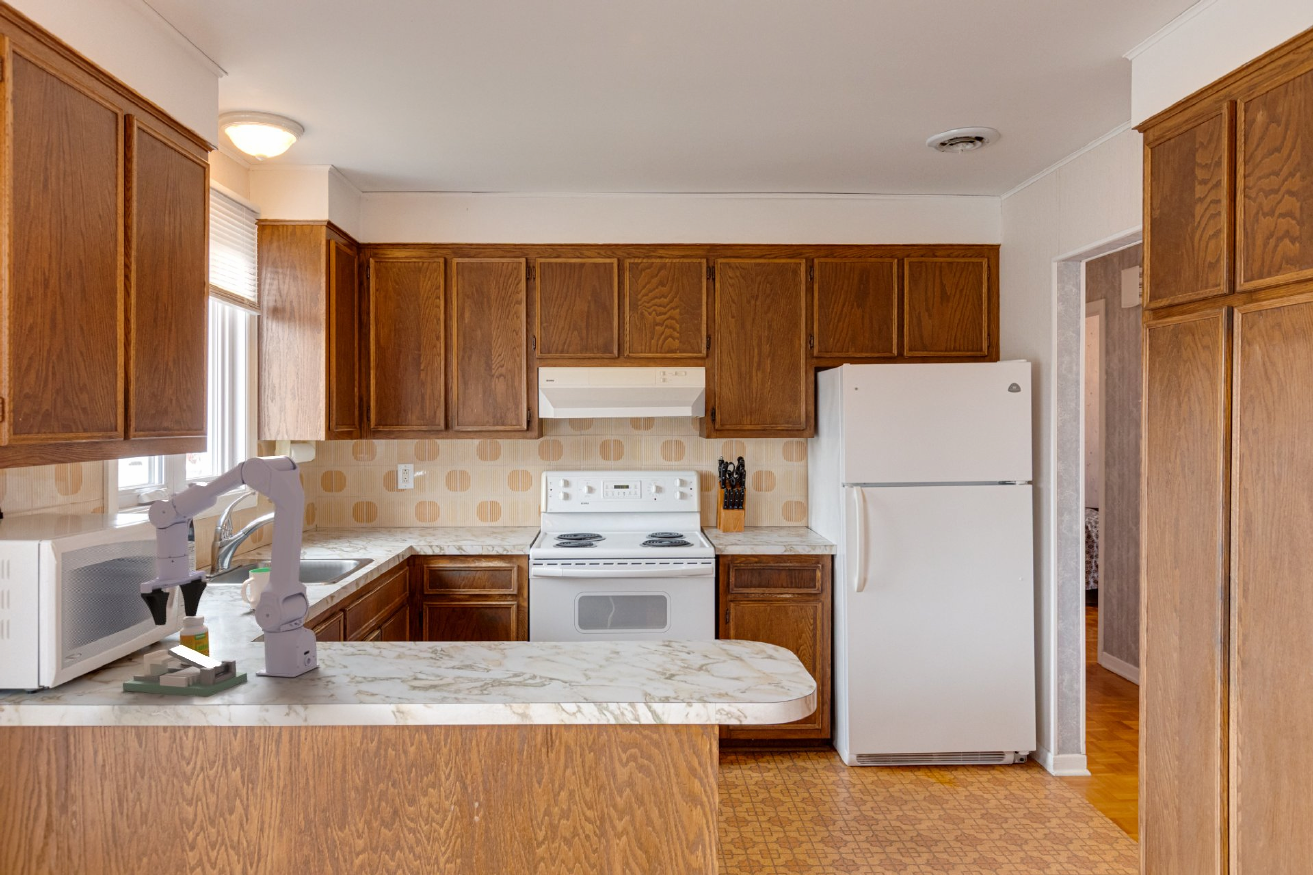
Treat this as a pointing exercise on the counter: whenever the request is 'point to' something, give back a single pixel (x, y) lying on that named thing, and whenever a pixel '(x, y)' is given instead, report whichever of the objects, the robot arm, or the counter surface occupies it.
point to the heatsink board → (187, 681)
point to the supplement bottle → (195, 635)
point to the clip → (157, 663)
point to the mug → (255, 585)
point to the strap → (197, 659)
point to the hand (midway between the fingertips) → (176, 620)
